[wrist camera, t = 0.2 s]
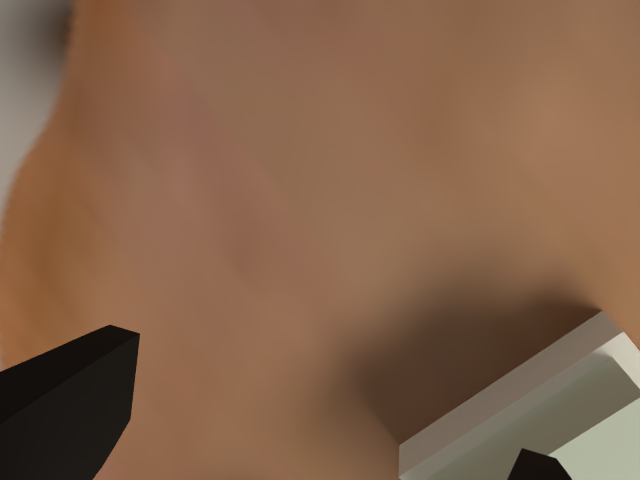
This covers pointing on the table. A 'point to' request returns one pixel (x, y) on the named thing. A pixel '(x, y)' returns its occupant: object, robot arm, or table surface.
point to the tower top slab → (568, 433)
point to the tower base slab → (517, 395)
